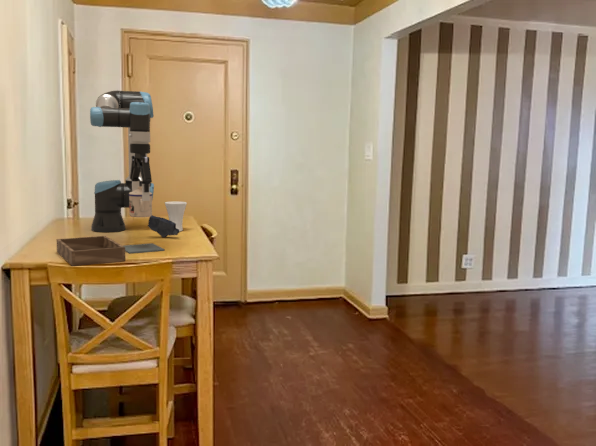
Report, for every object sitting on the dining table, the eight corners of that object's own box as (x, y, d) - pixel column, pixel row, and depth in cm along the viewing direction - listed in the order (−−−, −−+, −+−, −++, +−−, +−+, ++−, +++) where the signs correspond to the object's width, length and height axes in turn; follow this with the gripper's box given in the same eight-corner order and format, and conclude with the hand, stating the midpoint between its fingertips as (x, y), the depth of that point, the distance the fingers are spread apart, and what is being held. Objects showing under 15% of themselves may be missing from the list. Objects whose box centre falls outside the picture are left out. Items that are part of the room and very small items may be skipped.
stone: (179, 236, 252) (179, 214, 251) (179, 238, 246) (179, 216, 245) (147, 236, 249) (147, 214, 248) (147, 238, 244) (146, 216, 242)
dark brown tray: (56, 252, 210) (56, 239, 210) (105, 248, 220) (105, 235, 220) (72, 266, 189) (71, 251, 188) (125, 261, 199) (125, 247, 198)
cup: (160, 231, 265) (159, 202, 263) (173, 228, 274) (172, 200, 272) (178, 233, 261) (178, 204, 259) (191, 230, 271) (191, 202, 269)
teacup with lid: (128, 214, 223) (127, 185, 222) (151, 214, 226) (151, 185, 225) (130, 218, 212) (129, 188, 210) (154, 218, 215) (154, 188, 214)
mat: (118, 247, 223) (118, 245, 223) (152, 244, 231) (152, 243, 231) (129, 253, 212) (129, 252, 212) (164, 250, 219) (164, 249, 219)
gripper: (121, 142, 223) (122, 196, 226) (140, 143, 203) (141, 202, 206) (139, 142, 227) (140, 196, 230) (160, 143, 207) (160, 202, 211)
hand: (140, 199), depth 218 cm, fingers closed on teacup with lid, 11 cm apart
